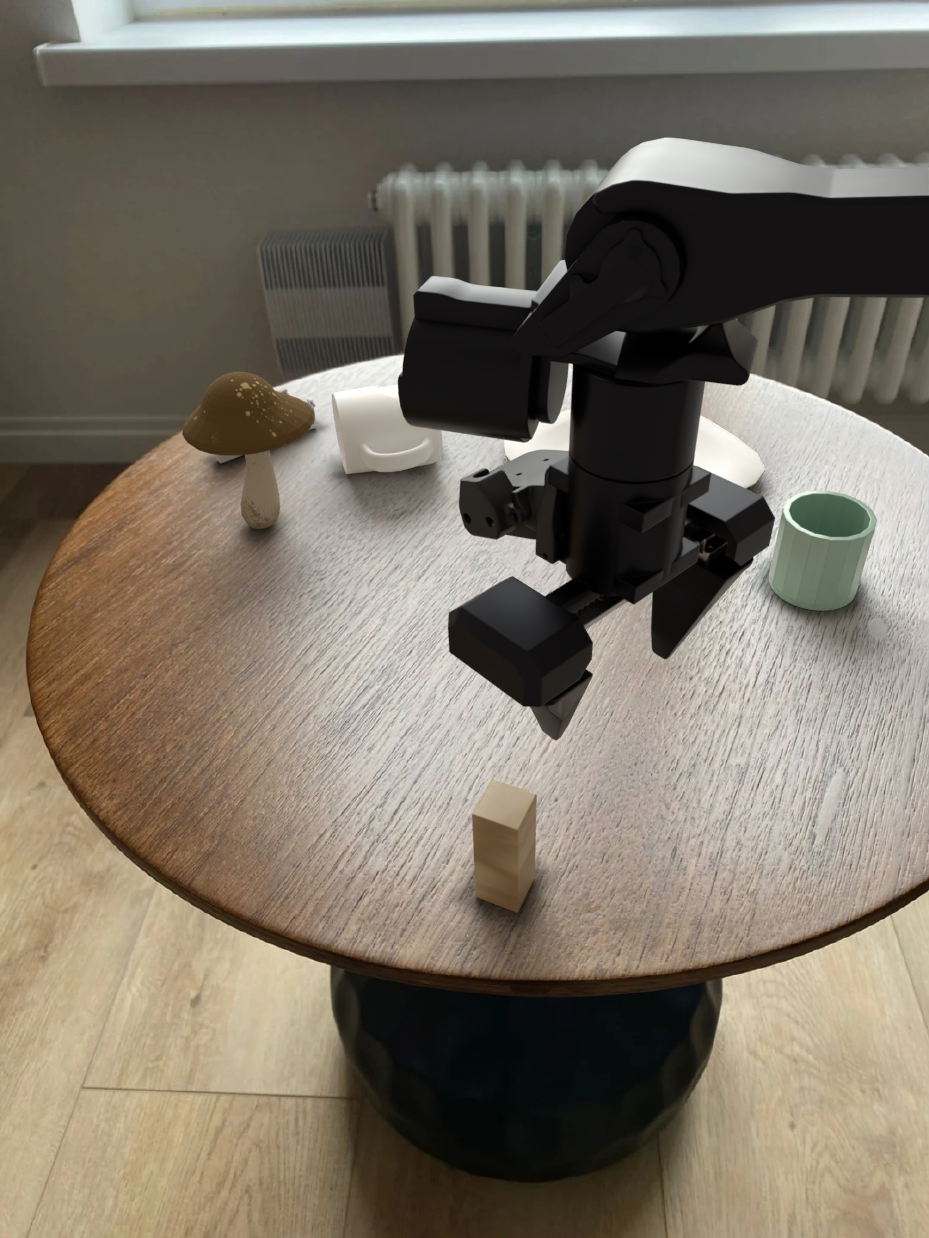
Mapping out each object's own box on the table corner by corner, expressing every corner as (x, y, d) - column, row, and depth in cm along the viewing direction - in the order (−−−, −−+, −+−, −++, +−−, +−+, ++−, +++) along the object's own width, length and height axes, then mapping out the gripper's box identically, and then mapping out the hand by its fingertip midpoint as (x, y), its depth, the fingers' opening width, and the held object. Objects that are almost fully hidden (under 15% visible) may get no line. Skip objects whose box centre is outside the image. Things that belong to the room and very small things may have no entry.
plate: (479, 450, 99) (479, 436, 98) (649, 396, 107) (650, 381, 106) (605, 557, 84) (606, 541, 83) (790, 485, 92) (793, 469, 91)
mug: (337, 446, 101) (327, 375, 96) (424, 432, 102) (419, 362, 97) (354, 507, 92) (345, 433, 87) (450, 491, 93) (446, 418, 88)
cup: (861, 570, 82) (882, 501, 77) (849, 619, 77) (869, 548, 73) (778, 551, 84) (793, 483, 80) (760, 598, 80) (775, 528, 75)
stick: (535, 877, 60) (537, 793, 55) (517, 913, 58) (517, 830, 53) (493, 861, 61) (491, 778, 56) (475, 897, 59) (471, 814, 54)
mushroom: (338, 538, 88) (316, 388, 78) (211, 562, 86) (173, 410, 76) (321, 487, 95) (299, 342, 85) (203, 508, 93) (167, 362, 83)
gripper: (629, 336, 53) (610, 561, 64) (362, 460, 44) (389, 701, 54) (805, 404, 47) (753, 642, 57) (535, 565, 38) (529, 816, 48)
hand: (608, 693), depth 54 cm, fingers open, 9 cm apart
